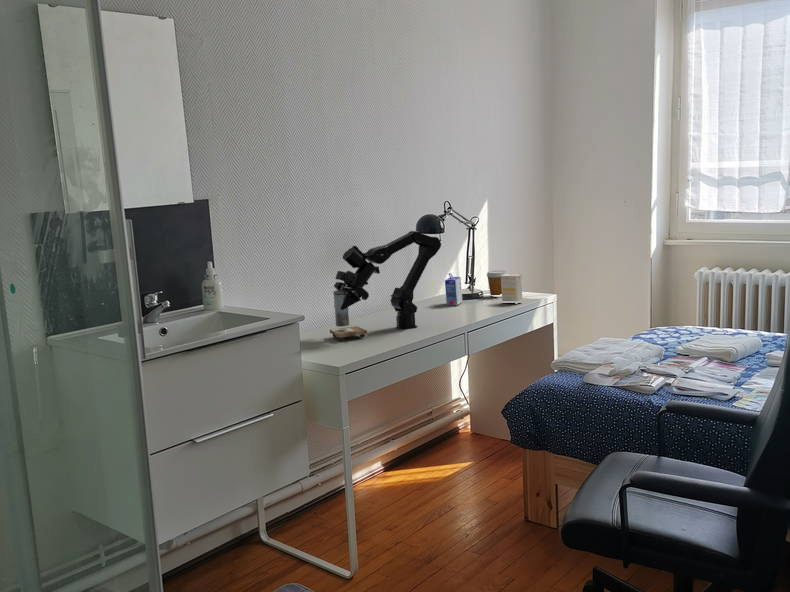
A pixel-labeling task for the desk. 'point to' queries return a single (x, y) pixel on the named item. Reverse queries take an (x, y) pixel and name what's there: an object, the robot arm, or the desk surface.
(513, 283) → the supplement box
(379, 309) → the desk surface
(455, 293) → the ink cartridge box
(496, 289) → the disposable coffee cup
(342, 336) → the frame
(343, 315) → the canister
